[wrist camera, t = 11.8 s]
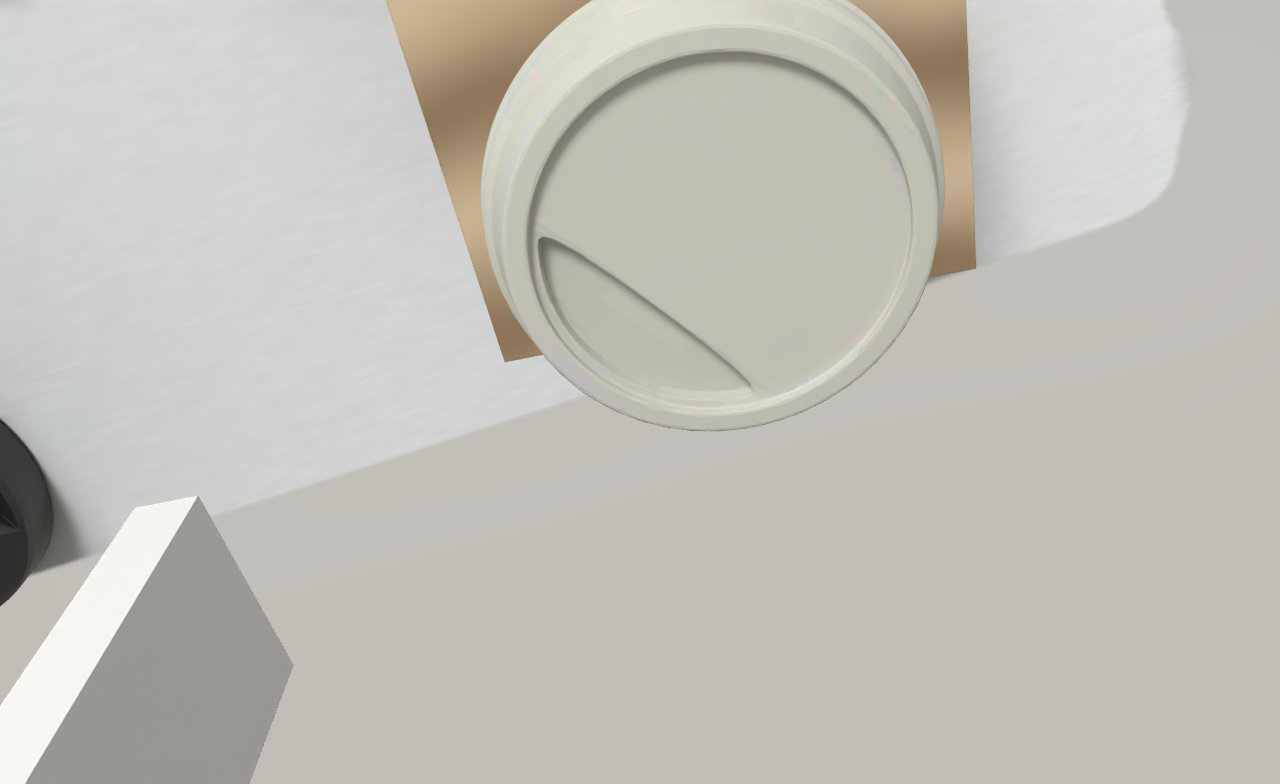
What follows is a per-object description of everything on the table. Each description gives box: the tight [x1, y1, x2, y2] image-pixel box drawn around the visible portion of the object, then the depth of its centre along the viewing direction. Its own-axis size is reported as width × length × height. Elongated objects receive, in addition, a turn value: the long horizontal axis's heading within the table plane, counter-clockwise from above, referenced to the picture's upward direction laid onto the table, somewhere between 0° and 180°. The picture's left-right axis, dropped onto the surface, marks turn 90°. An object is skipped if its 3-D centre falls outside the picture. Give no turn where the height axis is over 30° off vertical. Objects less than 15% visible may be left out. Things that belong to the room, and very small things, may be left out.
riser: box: [386, 0, 976, 362], centre depth 32 cm, size 15×15×12 cm
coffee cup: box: [481, 0, 945, 431], centre depth 22 cm, size 8×8×12 cm
